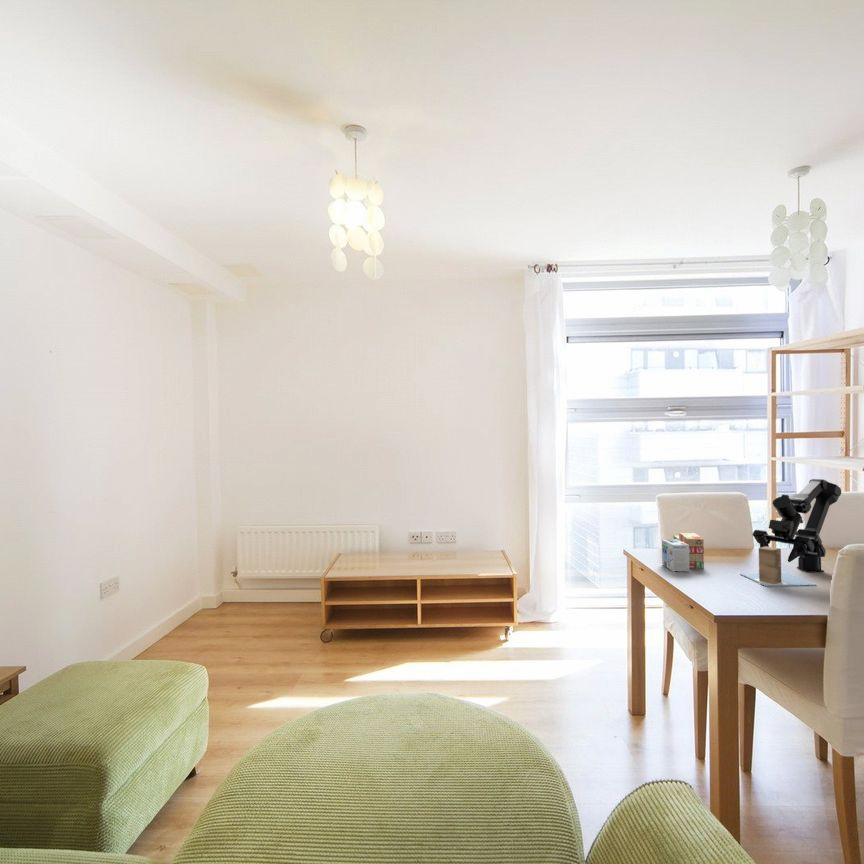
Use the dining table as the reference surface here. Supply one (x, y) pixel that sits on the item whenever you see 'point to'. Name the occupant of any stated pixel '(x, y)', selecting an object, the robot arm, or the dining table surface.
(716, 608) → the dining table surface
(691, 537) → the stack of blocks
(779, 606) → the dining table surface
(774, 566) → the walnut column
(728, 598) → the dining table surface
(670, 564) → the light bulb box
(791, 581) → the board
